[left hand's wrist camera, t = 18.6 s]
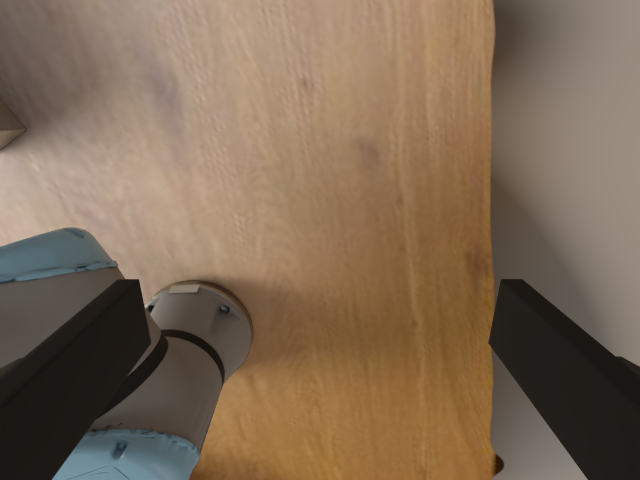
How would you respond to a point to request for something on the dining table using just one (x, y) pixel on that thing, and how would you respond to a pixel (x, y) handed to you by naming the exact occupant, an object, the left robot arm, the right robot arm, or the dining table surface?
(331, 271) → the dining table surface
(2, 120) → the bar
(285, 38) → the dining table surface
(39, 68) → the dining table surface
